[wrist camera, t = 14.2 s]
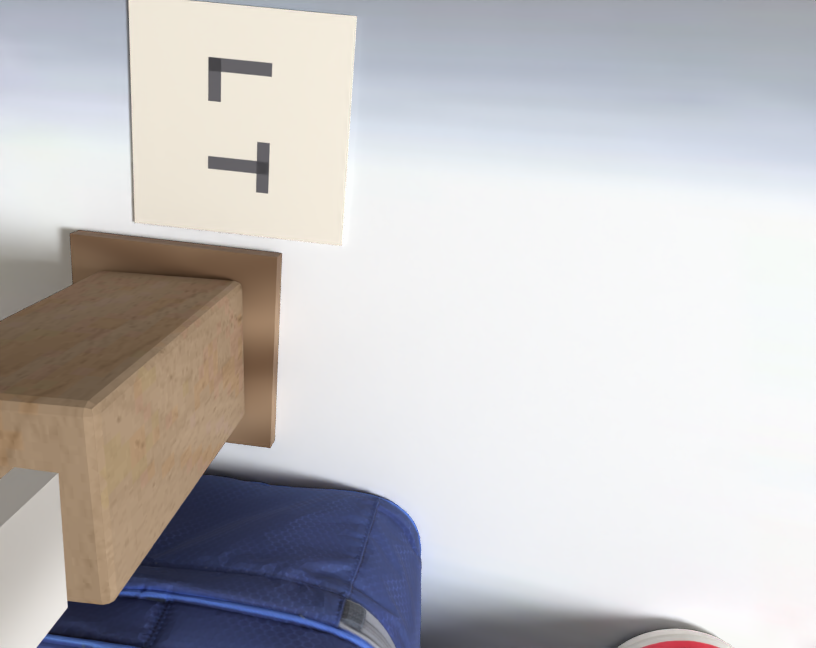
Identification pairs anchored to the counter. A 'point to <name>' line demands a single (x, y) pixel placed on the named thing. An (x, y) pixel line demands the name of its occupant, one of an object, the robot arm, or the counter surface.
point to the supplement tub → (675, 640)
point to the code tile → (241, 118)
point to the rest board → (208, 262)
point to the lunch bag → (265, 575)
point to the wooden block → (121, 408)
